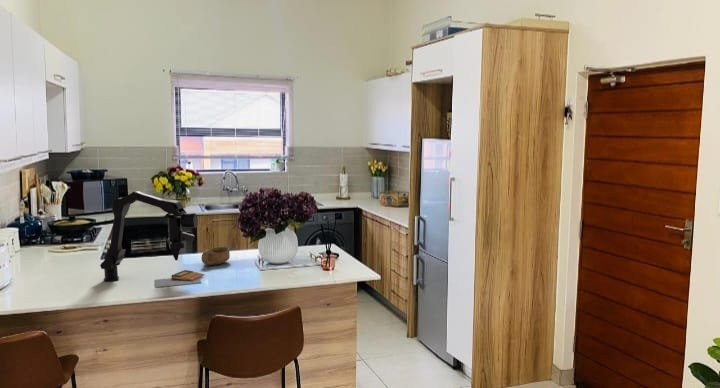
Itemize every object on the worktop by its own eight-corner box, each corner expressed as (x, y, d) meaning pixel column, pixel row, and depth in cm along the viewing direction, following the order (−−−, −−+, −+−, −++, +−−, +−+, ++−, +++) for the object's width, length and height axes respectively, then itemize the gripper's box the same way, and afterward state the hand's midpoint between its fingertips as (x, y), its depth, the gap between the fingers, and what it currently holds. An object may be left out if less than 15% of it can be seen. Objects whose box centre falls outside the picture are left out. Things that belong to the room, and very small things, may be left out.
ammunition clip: (171, 279, 261) (192, 282, 258) (171, 275, 261) (192, 278, 258) (185, 273, 272) (206, 276, 268) (184, 270, 271) (206, 272, 268)
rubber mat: (154, 280, 261) (154, 279, 261) (198, 276, 269) (198, 275, 269) (155, 287, 248) (155, 287, 248) (201, 283, 256) (201, 282, 256)
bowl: (223, 266, 283) (217, 247, 282) (199, 272, 286) (193, 254, 285) (236, 258, 300) (231, 240, 300) (213, 264, 303) (208, 247, 302)
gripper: (194, 229, 253) (196, 262, 255) (190, 223, 271) (192, 254, 272) (169, 231, 249) (170, 265, 251) (166, 225, 266) (168, 256, 268)
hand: (176, 260), depth 261 cm, fingers closed
